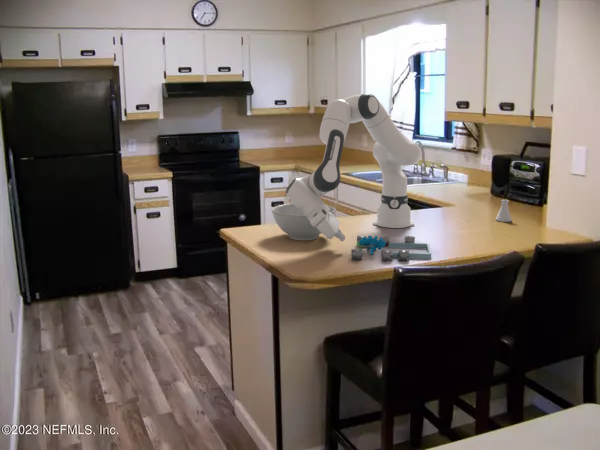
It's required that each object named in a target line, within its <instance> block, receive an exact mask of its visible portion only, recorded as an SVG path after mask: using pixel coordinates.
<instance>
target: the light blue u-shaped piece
mask: <svg viewBox="0 0 600 450" xmlns="http://www.w3.org/2000/svg"><path fill="white" fill-rule="evenodd" d="M389 248H390V249H392V248H393V249H394V248H395V249H415V248H418V250H419V248H424V249H423V250H426V252H409V259H413V260H414V259H417V260H431V259H432V252H431V247H430V244H429V243H427V242H426V243H423V242H422V243H419V242H418V243H417V242H415V243H405V242H397V241H395V242H393V241H389ZM425 248H426V249H425ZM427 252H428V253H427ZM430 258H431V259H430ZM392 259H398V251H397V252H396V251H393V253H392Z"/></svg>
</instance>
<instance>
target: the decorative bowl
mask: <svg viewBox="0 0 600 450" xmlns="http://www.w3.org/2000/svg"><path fill="white" fill-rule="evenodd" d="M326 205H327V204H326ZM327 206H328V207H329V208H330V210H329V212H330V213H331V214H333V215H334V216H335V214H336V211H337V210H336V208H335V207H333V206H330V205H327ZM271 213H272V217H273V219H274V222H275V224H276V225H277V226H278V227H279V228H280V230H281V231H283V232H284V233H285V234H287V235H288V236H289V237H288V238H290V239H292V240H294V239H295V240H294V241H312V240H316V239H318V238H319V235H321V234H322V233H321V232H320V231H319V230H318V229H317V228H316V226H315V227H313V226H312V225H311V224H310V221H309V220H308V219H307V218H306V217H305V215H304V213H303V212H302V211H301V210H299V209H298V208H297V207H296V206H295V205H294V204H293V203H286V204H281V205H280V204H279V205H276V206H274V207H273V208H271Z"/></svg>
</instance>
